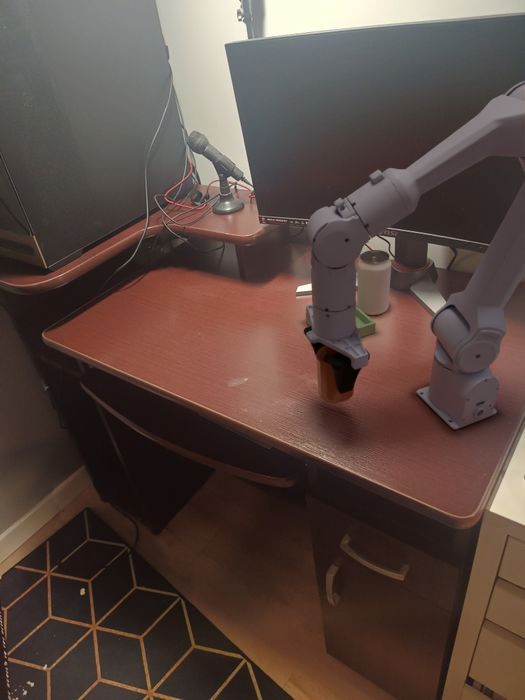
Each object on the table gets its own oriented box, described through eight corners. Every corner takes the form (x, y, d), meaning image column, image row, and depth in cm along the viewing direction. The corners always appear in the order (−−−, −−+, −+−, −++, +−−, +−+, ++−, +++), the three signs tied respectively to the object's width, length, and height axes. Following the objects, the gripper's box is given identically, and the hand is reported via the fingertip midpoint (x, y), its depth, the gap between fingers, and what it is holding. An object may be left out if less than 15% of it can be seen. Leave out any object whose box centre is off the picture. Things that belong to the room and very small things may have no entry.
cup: (360, 395, 69) (361, 359, 65) (328, 407, 68) (327, 370, 64) (343, 375, 73) (342, 339, 69) (312, 385, 72) (310, 350, 68)
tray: (375, 332, 91) (375, 322, 89) (328, 348, 88) (328, 337, 87) (349, 309, 98) (349, 299, 97) (306, 322, 96) (305, 312, 95)
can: (386, 299, 100) (389, 248, 93) (390, 315, 95) (393, 262, 88) (356, 300, 101) (356, 249, 94) (358, 316, 96) (359, 264, 89)
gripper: (284, 285, 66) (291, 360, 74) (332, 336, 55) (334, 418, 63) (329, 272, 67) (331, 347, 75) (384, 320, 56) (380, 401, 64)
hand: (335, 378), depth 69 cm, fingers closed on cup, 5 cm apart
